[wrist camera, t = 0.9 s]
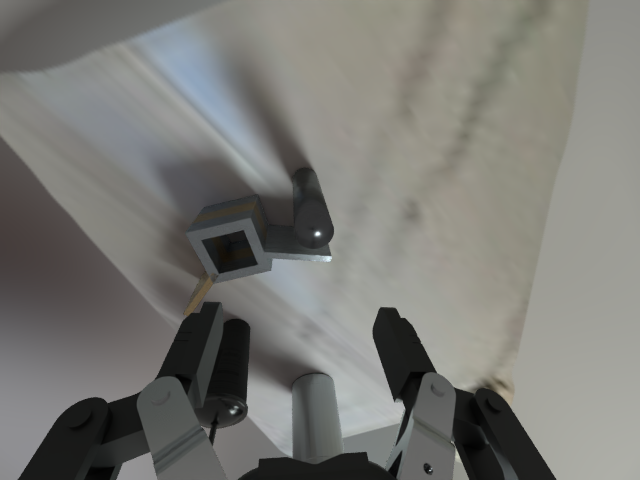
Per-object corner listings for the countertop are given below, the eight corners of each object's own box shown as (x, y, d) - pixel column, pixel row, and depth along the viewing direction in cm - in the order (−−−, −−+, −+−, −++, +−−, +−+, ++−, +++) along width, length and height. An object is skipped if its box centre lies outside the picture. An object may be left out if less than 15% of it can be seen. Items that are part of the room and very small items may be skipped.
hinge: (329, 252, 39) (337, 282, 33) (201, 282, 39) (185, 317, 33) (313, 181, 33) (319, 201, 27) (162, 217, 33) (134, 245, 27)
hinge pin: (319, 189, 33) (337, 244, 21) (296, 194, 33) (299, 252, 21) (314, 165, 32) (330, 210, 20) (289, 171, 32) (289, 219, 20)
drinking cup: (208, 338, 45) (159, 490, 28) (218, 308, 42) (169, 459, 25) (251, 346, 47) (229, 491, 30) (263, 318, 44) (247, 463, 27)
